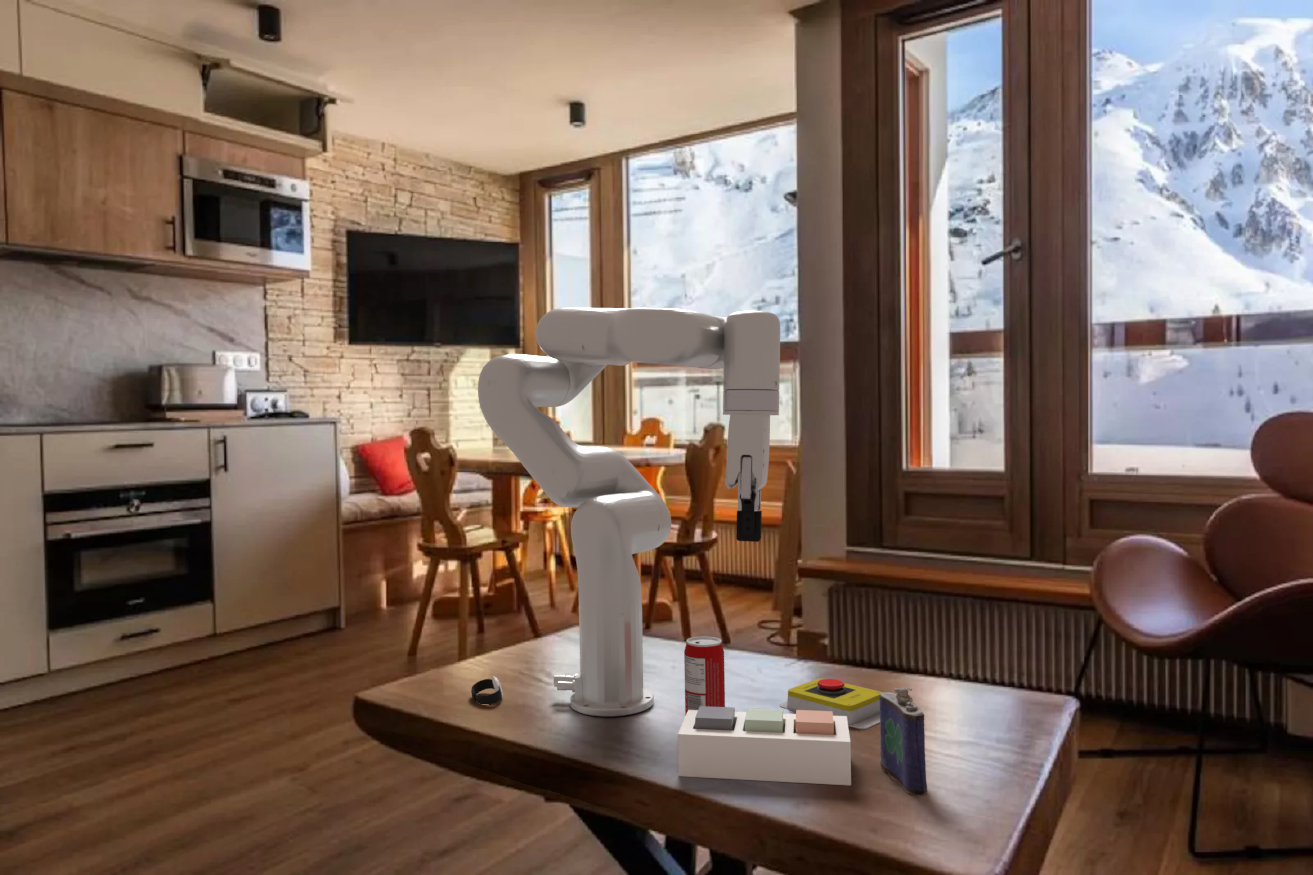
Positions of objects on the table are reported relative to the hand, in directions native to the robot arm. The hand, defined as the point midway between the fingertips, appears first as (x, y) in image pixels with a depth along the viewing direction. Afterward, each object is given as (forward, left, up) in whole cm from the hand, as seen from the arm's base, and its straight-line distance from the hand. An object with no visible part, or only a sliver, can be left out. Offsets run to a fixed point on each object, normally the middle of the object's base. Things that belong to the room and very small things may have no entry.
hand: (748, 540), depth 114 cm
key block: (+2, -11, -26) cm, 28 cm away
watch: (-42, +10, -27) cm, 51 cm away
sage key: (+2, -11, -24) cm, 26 cm away
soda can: (-7, +3, -26) cm, 27 cm away
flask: (+18, -13, -26) cm, 35 cm away
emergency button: (+12, +12, -27) cm, 32 cm away
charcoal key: (-4, -11, -24) cm, 27 cm away
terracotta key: (+8, -11, -24) cm, 27 cm away
